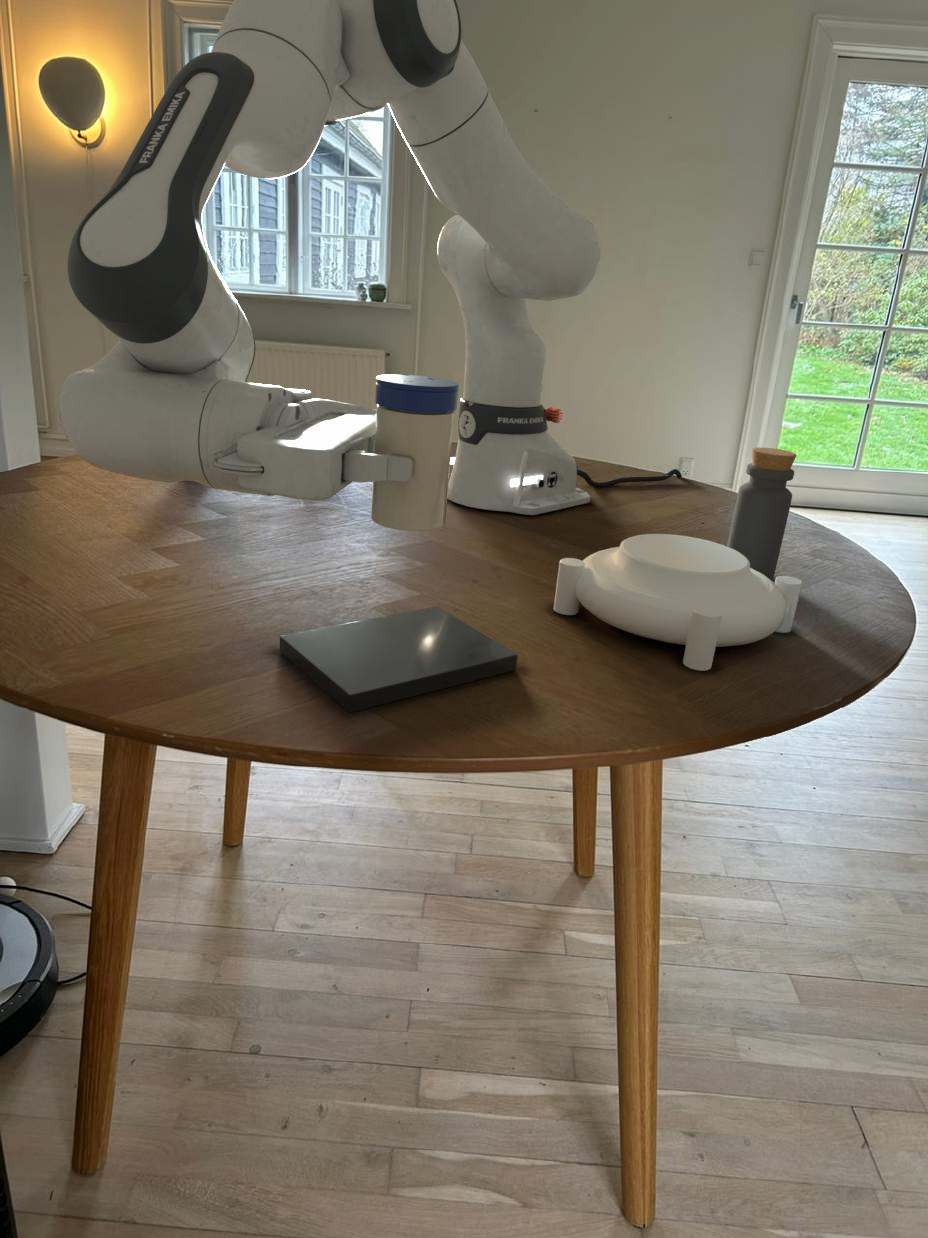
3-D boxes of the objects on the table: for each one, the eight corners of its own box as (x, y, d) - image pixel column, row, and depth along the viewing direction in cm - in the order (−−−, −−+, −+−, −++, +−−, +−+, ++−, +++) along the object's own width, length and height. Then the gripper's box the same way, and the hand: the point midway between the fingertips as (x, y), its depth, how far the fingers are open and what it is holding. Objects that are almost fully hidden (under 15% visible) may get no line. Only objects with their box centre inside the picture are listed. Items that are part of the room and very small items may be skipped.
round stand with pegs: (835, 681, 75) (856, 606, 72) (564, 659, 75) (574, 583, 72) (754, 588, 97) (768, 528, 94) (545, 570, 97) (552, 509, 94)
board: (436, 620, 81) (437, 605, 80) (516, 670, 72) (518, 654, 71) (279, 651, 71) (279, 635, 71) (349, 713, 63) (349, 695, 62)
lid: (428, 398, 70) (429, 374, 69) (473, 412, 65) (476, 386, 65) (359, 399, 66) (360, 373, 66) (403, 413, 62) (404, 386, 61)
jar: (419, 507, 73) (428, 381, 69) (459, 526, 69) (471, 392, 65) (357, 513, 70) (363, 380, 66) (396, 534, 65) (405, 393, 61)
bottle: (746, 589, 97) (775, 457, 91) (710, 572, 101) (736, 446, 96) (783, 584, 99) (813, 456, 94) (746, 568, 104) (773, 445, 98)
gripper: (197, 418, 58) (393, 442, 57) (301, 386, 77) (450, 403, 75) (200, 507, 61) (388, 533, 59) (300, 455, 80) (445, 473, 78)
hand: (423, 460), depth 67 cm, fingers closed on jar, 6 cm apart
